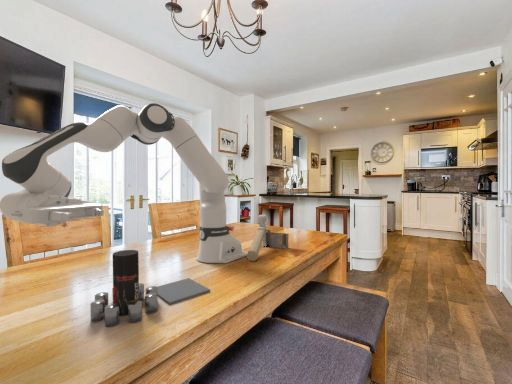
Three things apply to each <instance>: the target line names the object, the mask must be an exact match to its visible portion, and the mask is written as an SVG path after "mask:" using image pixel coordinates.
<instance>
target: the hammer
mask: <svg viewBox="0 0 512 384" xmlns="http://www.w3.org/2000/svg"><path fill="white" fill-rule="evenodd" d="M257 221H258V224H259V226H258V227H257V232H256V233H255V235H254V238H253V240H252V243H251V246H249V247H250V248H249V249H248V251H247V256H246V257H247V259H248V261H251V262H255V261H256V262H257V259H258V257H259V253H260V251H261V249H262V247H263V246H265V247H264V248H267V247H266V245H267V242H266V232H267V231H266V229H267V224H266V221H267V215H266V214H259V215H258V216H257Z"/></svg>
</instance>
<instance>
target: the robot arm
mask: <svg viewBox="0 0 512 384" xmlns="http://www.w3.org/2000/svg"><path fill="white" fill-rule="evenodd" d="M129 137H131V138H132V139H134V140H136V141H138V142H139V143H140V144H143V145H147V146H151V145H154V144H156V143H158V142H159V140H161V138H162V139H165V140H166V141H168V142H169V143H170V144H171V146H172V148H173V149H174V150H175V152H176V153H177V155H178V156H179V157H180V159H181V160H182V162H183V163H184V165H185V166H186V167H187V168H188V169H189V171H190V172H191V173H192V175H193V176H194V178H195V179H196V180H197V182H198V184H199V185H198V186H199V207H200V210H199V211H200V218H199V219H200V224H199V227H198V228H199V230H198V233H199V235H198V236H199V247H198V252H197V256H196V260H197V261H198V262H202V263H207V264H217V263H218V264H227V263H230V262H233V261H236V260H238V259H241V258H245V257H247V254H248V252H247V251H244V250H243V246H242V243H241V241H240V240H239V239H237V238H236V237H235V236H233V235H232V234H231V233H230V231H231V232H234V230H235V227H234V226H232V225H230V226H228V225H227V204H226V196H225V191H226V189H228V186H229V183H230V181H229V180H230V179H229V176H228V174H227V172H226V171H225V170H224V168H223V167H222V166H221V165H220V163H219V162H218V161H217V160H216V158H215V157H214V156H213V155H212V154H211V153H210V151H209V150H208V148H207V147H206V145H205V144H204V143H203V141H202V140H201V138H200V137H199V135H198V134H197V133H196V132H195V130H194V129H193V127H192V125H190V124H189V122H187V120H185V119H184V118H182V117H179V116H175V117H174V115H173V113H172V112H170V111H168V109H167V108H165V106H163V105H161V104H158V103H156V102H155V103H153V102H152V103H148V104H146V105H145V106H144V107H143V108H141V110H140V112H139V113H136V112H134V111H133V110H132V109H131V108H129V107H127V106H124V105H116V106H114V107H112V108H110V109H109V110H107V111H105V112H104V113H102V114H101V115H100V116H97V118H96V119H94V120H92V121H91V122H86V123H85V122H83V121H76V122H73V123H70V124H67V125H66V126H64V127H61V128H59V129H57V130H56V131H54V132H52V133H49V134H48V135H45V136H44V137H42V138H40V139H39V140H36V141H34V142H33V143H31V144H29V145H25V146H24V147H21V148H18V149H16V150H14V151H12V152H10V153H8V155H6V156H5V157H4V158H3V159H2V160H1V161H2V162H1V171H2V174H3V177H5V178H7V179H8V180H10V181H12V182H14V183H16V184H18V185H19V186H21V187H22V188H24V189H23V190H21V191H17V192H12V193H11V192H10V193H8V194H5V195H4V196H3V197H2V198H1V199H0V212H1V213H2V214H3V216H4V217H5V218H7V219H9V220H13V221H15V222H19V223H25V224H31V225H38V226H45V227H55V226H58V225H61V224H64V223H65V222H70V221H75V220H79V219H81V220H82V219H88V218H95V217H98V218H99V217H103V216H104V215H105V212H104V209H103V207H104V206H103V204H101V203H97V202H94V201H93V202H92V201H87V200H82V198H78V197H69V196H70V194H71V191H72V182H71V180H70V179H69V178H68V177H67V176H66V175H64V174H63V172H61V171H60V170H58V169H57V168H56V167H55V166H54V165H53V164H52V163H50V162H49V161H48V159H47V158H48V157H49V156H51V155H52V154H54V153H56V152H57V151H59V150H61V149H62V148H65V147H66V146H68V145H69V144H73V143H79V144H81V145H82V146H85V147H87V148H89V149H91V150H93V151H96V152H100V153H109V152H112V151H114V150H116V149H117V148H119V147H120V146H121V145H122V144H123V143H124V142H125V141H126V140H127V139H128V138H129Z"/></svg>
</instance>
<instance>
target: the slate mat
mask: <svg viewBox="0 0 512 384" xmlns="http://www.w3.org/2000/svg"><path fill="white" fill-rule="evenodd" d="M156 287H157V298H158V297H159V298H160V299H161V300H162V301H164V302H165V303H166V304H168V305H174V304H176V303H179V302H182V301H185V300H189V299H191V298H194V297H197V296H199V295H200V296H201V295H203V294H206V293H209V292H211V289H210V288H208V287H206V286H204V285H203V284H201V283H198V282H197V281H195V280H193V279H191V278H190V277H189V278H185V279H184V278H183V279H181V280H176V281H174V282H170V283H166V284H161V285H158V286H156Z"/></svg>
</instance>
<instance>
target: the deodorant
mask: <svg viewBox="0 0 512 384" xmlns="http://www.w3.org/2000/svg"><path fill="white" fill-rule="evenodd" d="M139 260H140V259H139V250H135V249H127V250H119V251H115V252H113V253H112V288H113V294H112V304H118V305H119V317H125V316H128V304H129V303H130V302H133V301H139V283H140V281H139V280H140V277H139V276H140V273H139V271H140V270H139V267H140V266H139V263H140V262H139Z"/></svg>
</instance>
